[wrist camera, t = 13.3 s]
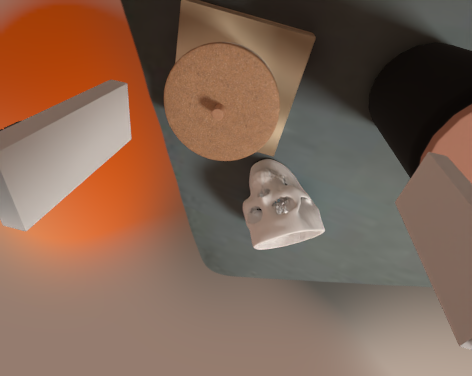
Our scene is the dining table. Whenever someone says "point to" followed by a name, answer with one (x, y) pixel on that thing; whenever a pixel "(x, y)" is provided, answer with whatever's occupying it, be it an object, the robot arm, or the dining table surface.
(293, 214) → the skull bowl
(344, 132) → the dining table surface
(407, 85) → the coffee jar
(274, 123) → the lidded jar
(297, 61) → the beech block
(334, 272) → the dining table surface
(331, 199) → the dining table surface
